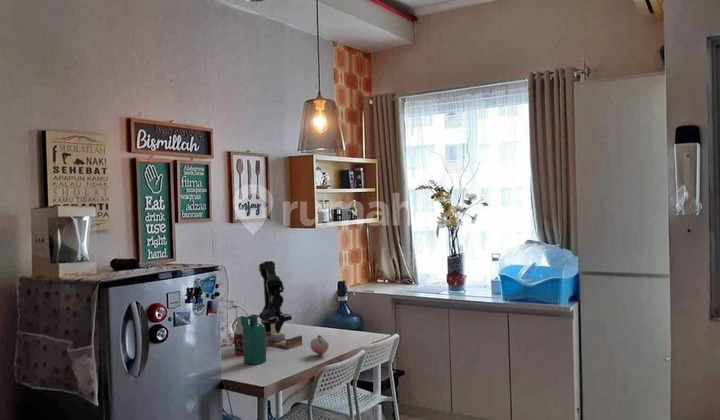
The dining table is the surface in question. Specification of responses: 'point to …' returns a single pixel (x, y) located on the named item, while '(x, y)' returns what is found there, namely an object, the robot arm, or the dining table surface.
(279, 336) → the handle
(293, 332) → the dining table surface
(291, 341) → the base
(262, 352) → the pitcher
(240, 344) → the canned food
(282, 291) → the robot arm
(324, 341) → the decorative fruit
